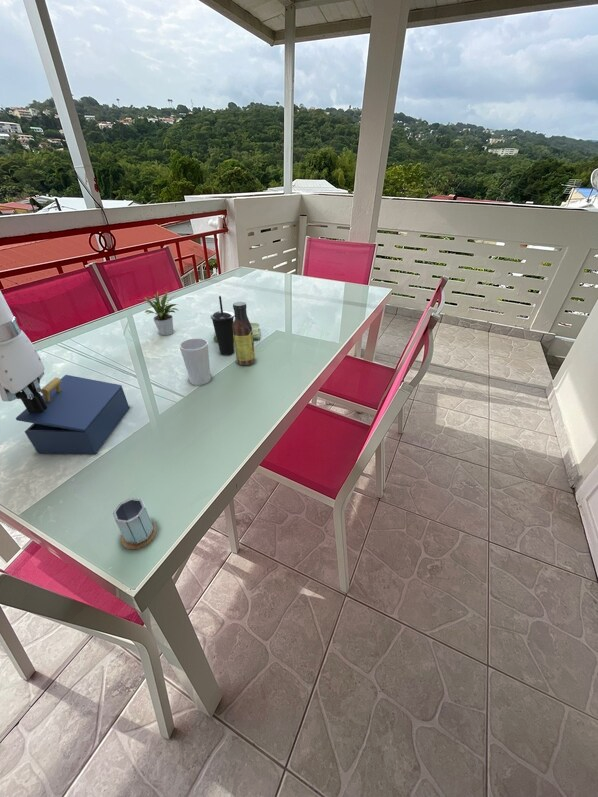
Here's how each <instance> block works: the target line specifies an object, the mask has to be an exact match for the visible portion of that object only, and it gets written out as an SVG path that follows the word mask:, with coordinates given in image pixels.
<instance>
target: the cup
mask: <svg viewBox="0 0 598 797" xmlns="http://www.w3.org/2000/svg"><path fill="white" fill-rule="evenodd" d="M178 347H179V350H180V353H181V357H182V358H183V362H184V366H185V368H186V372H187V375H188V379H189V383H190V384H191V385H194V386H202V385H206V384H207V383H209V382H211V380H212V375H211V368H210V367H211V366H210V358H209V357H210V356H209V342H208V340H207V339H204V338H201V337H200V338H199V337H196V338H195V337H193V338H188V339H185V340H182V341H181V342H180V343H179V344H178Z"/></svg>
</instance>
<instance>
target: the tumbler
mask: <svg viewBox="0 0 598 797" xmlns="http://www.w3.org/2000/svg"><path fill="white" fill-rule="evenodd" d="M112 515H113V518H114V521H115V523H116V526H117V527H118V530H119V531H120V533H121V536H122V535H123V537H124V539H125V541H126V542H127V543H129V544H131V545H138V544H141V543H143V542H145V541H146V540H148V539H149V538H150V536H151V535H152V533H153V525H152V523H151V521H152V520H151V517H150V515H149V513H148V511H147V509H146V506H145V503H144V502H143V500H142V499H141V498H135V497H131V498H128V499H126V500H124V501H121V502H120V503H118V505H117V506H116V508H115V509H114V510H113V513H112Z"/></svg>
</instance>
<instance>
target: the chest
mask: <svg viewBox="0 0 598 797" xmlns="http://www.w3.org/2000/svg"><path fill="white" fill-rule="evenodd" d="M129 410H130V405H129V403H128V400H127V396H126V394H125V391H124V388H123V387H122V388H121V389H120V390H119V391H118V393H117V394H116V395H115V396H114V397H113V399H112V400H111V401H110V402H109V403H108V405H107V406H106V407H105V408H104V409H103V411H102V412H101V413H100V414H99V415H98V417H97V418H96V419H95V420H94V421H93V423H92V424H91V425H90V426H89V427H88V429H87V430H86V431H85V432H83V431H77V430H71V429H65V428H59V427H53V426H47V425H41V424H35V423H31V425H30V426H29V427H28V428H26V429H25V430H24V433H25V434H26V436H27V438H28V440H29V441H30V443H31V445H32V447H33V448H34V450H35V452H36V453H37V454H38V455H97V454H98V452H99V451H100V449H101V448H102V447H103V446H104V444H105V443H106V441H107V440H108V439H109V437H110V436H111V434H112V433H113V431H114V430H115V429H116V427H117V426H118V425H119V423H120V422H121V421H122V419H123V418H124V416H125V415H126V413H127V412H128V411H129Z"/></svg>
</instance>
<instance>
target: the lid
mask: <svg viewBox="0 0 598 797" xmlns="http://www.w3.org/2000/svg"><path fill="white" fill-rule="evenodd" d="M121 388H123V385H122V384H118V383H112V382H106V381H101V380H96V379H92V378H91V379H90V378H85V377H80V376H75V375H69V374H65V375H63V377H61V378H59V377H55V378H53V379H52V380H50V382H48V383H46V385H44V387H42V388H41V392H40V394H41V396H42V398H43V400H44V402H45V403H46V405H47V407H48V408H47V409H46V410H44V412H43V413H30V412H28V410H27V409H26V408H25V409H24V410H23V411H22V412H20V414H19V415H17V416H16V417H15V420H16V421H18V422H24V423H29V424H30V423H31V424H33V423H35V424H41V425H47V426H53V427H59V428H65V429H71V430H77V431H83V432H85V431H86V430H87V429H88V427H89V426H90V425H91V424H92V423H93V421H94V420H95V419H96V418H97V417H98V415H99V414H100V413H101V412H102V411H103V409H104V408H105V407H106V406H107V405H108V403H109V402H110V401H111V400H112V399H113V397H114V396H115V395H116V394H117V393H118V391H119V390H120V389H121Z"/></svg>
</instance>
